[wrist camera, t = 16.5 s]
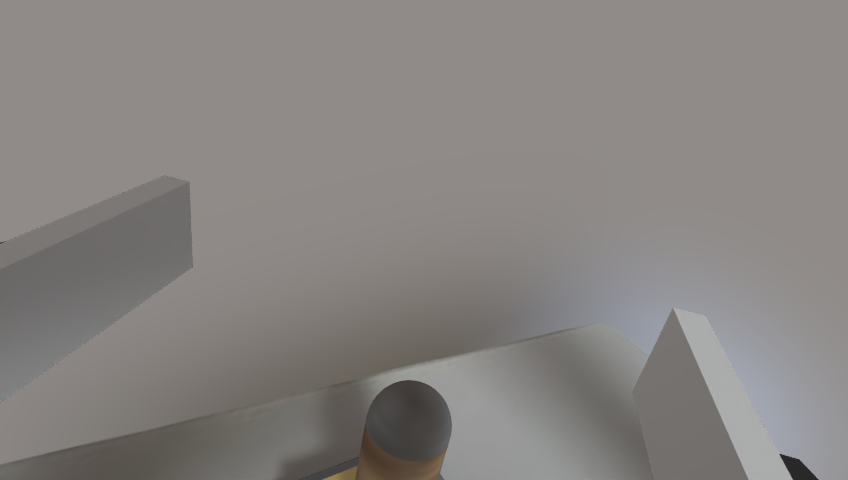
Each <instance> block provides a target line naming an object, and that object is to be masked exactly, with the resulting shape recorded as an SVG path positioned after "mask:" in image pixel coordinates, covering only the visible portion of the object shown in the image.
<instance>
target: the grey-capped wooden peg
mask: <svg viewBox="0 0 848 480" xmlns="http://www.w3.org/2000/svg"><path fill="white" fill-rule="evenodd" d="M451 429H452V422H451V415H450V411H449V409H448V406H447V404H446V402H445V400H444V399H443V397H442V396H441V395H440V394H439V393H438V392H437V391H436V390H435V389H434V388H432V387H431V386H429V385H427V384H425V383H422V382H418V381H412V380H405V381H400V382H396V383H394V384H391V385H389V386H388V387H386V388H385V389H383V390H382V391H381V392H380V393H379V394H378V395H377V396H376V398H375V399H374V400H373V402H372V404H371V406H370V408H369V411H368V414H367V419H366V424H365V429H364V435H363V440H362V445H361V451H360V456H359V461H358V466H357V472H356V477H355V480H438V477H439V474H440V470H441V467H442V463H443V460H444V457H445V453H446V450H447V447H448V443H449V440H450V436H451Z"/></svg>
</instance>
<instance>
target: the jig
mask: <svg viewBox="0 0 848 480" xmlns="http://www.w3.org/2000/svg"><path fill="white" fill-rule="evenodd" d="M358 461H359V457H358V458H355V459H352V460H350V461H347V462H344V463H342V464H339V465H337V466H334V467H331V468H329V469H326V470H324V471H321V472H318V473H316V474H313V475H310V476H308V477H305V478H303V479H300V480H355V477H356V472H357V466H358ZM438 480H444V479H443V478H442V476H441V475H440V474H439V477H438Z"/></svg>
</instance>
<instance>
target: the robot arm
mask: <svg viewBox="0 0 848 480" xmlns="http://www.w3.org/2000/svg"><path fill="white" fill-rule="evenodd" d="M192 267H193V260H192V235H191V212H190V186H189V182H188V181H184V180H180V179H176V178H173V177H168V176H162V177H160V178H157V179H155V180H153V181H150V182H148V183H145V184H143V185H141V186H138V187H136V188H133V189H131V190H128V191H126V192H124V193H121V194H119V195H117V196H114V197H112V198H109V199H107V200H105V201H102V202H100V203H97V204H95V205H93V206H90V207H88V208H86V209H83V210H81V211H78V212H76V213H73V214H71V215H68V216H66V217H64V218H61V219H59V220H56V221H54V222H52V223H49V224H47V225H44V226H42V227H40V228H37V229H35V230H33V231H30V232H27V233H25V234H23V235H20V236H18V237H15V238H13V239H11V240H8V241H5V242H1V243H0V403H1V402H3V401H4V400H6V399H7V398H9V397H10V396H11V395H13V394H14V393H16V392H17V391H19V390H20V389H21V388H22V387H24V386H25V385H27V384H28V383H30V382H31V381H32V380H34V379H35V378H37V377H38V376H40V375H41V374H43V373H44V372H45V371H47V370H48V369H49V368H51V367H52V366H54V365H55V364H57V363H58V362H59V361H61V360H62V359H64V358H65V357H67V356H68V355H69V354H71V353H72V352H73V351H75V350H76V349H78V348H79V347H81V346H82V345H83V344H85V343H86V342H88V341H89V340H90V339H92V338H93V337H94V336H96V335H98V334H99V333H100V332H102V331H103V330H104V329H106V328H107V327H109V326H110V325H112V324H113V323H114V322H116V321H117V320H119V319H120V318H122V317H123V316H124V315H126V314H127V313H128V312H130V311H131V310H133V309H134V308H135V307H137V306H138V305H140V304H141V303H143V302H144V301H146V300H147V299H148V298H150V297H151V296H152V295H154V294H155V293H157V292H158V291H160V290H161V289H162V288H163V287H165V286H167V285H168V284H170V283H171V282H172V281H174V280H175V279H176V278H178V277H179V276H181V275H182V274H184V273H185V272H186V271H188V270H189V269H191V268H192ZM633 395H634V400H635V404H636V408H637V412H638V417H639V421H640V425H641V430H642V434H643V438H644V442H645V447H646V451H647V455H648V460H649V464H650V468H651V473H652V477H653V480H818V479H817V478H816V477H815V476H814V474H813V473H812V472H811V471H810V470H809V469H808V468H807V467H806V466H805V465H804V464H803V463H802V462H801V461H800V460H799V459H796V458H792V457H789V456H785V455H782V454H779V453H778V451H777V449H776V447H775V446H774V444H773V442H772V440H771V438H770V436H769V434H768V432H767V431H766V429H765V427H764V425H763V424H762V421H761V419H760V417H759V416H758V414H757V412H756V410H755V408H754V406H753V404H752V403H751V401H750V399H749V397H748V395H747V393H746V391H745V389H744V388H743V386H742V384H741V382H740V380H739V378H738V376H737V374H736V373H735V371H734V369H733V367H732V365H731V364H730V362H729V359H728V358H727V356H726V354H725V352H724V350H723V348H722V346H721V345H720V343H719V341H718V339H717V337H716V335H715V333H714V331H713V329H712V328H711V326H710V324H709V322H708V320H707V318H706V316H703V315H700V314H696V313H692V312H688V311H684V310H680V309H677V308H673V309H672V311H671V313H670V315H669V317H668V319H667V321H666V323H665V325H664V327H663V329H662V331H661V334H660V336H659V338H658V340H657V342H656V344H655V346H654V348H653V350H652V352H651V354H650V356H649V359H648V361H647V363H646V365H645V367H644V369H643V371H642V373H641V375H640V377H639V379H638V381H637V384H636V386H635V388H634V390H633Z"/></svg>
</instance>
